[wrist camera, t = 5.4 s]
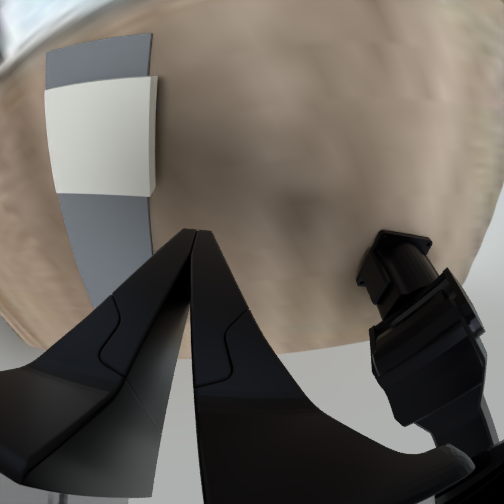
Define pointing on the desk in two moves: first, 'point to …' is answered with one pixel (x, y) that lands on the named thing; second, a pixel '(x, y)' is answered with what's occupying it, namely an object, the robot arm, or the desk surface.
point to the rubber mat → (99, 205)
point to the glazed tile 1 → (103, 136)
